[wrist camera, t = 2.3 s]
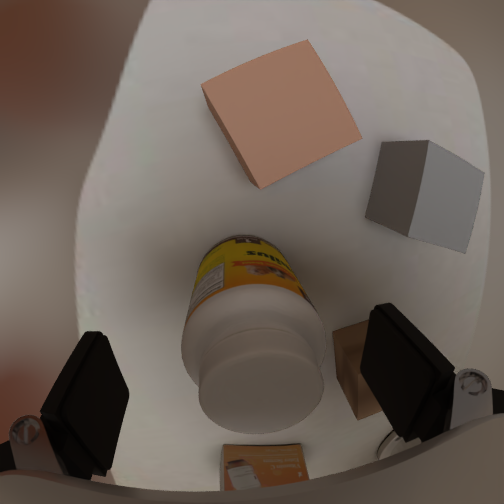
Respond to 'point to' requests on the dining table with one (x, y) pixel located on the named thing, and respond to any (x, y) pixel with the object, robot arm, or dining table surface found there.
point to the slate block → (425, 193)
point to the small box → (261, 466)
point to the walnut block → (354, 369)
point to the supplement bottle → (253, 339)
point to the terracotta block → (280, 112)
